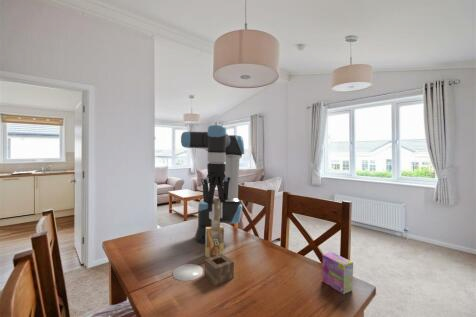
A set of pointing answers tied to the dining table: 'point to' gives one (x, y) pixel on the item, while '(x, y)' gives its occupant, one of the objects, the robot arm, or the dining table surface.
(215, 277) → the pen pot
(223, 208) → the robot arm
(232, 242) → the dining table surface
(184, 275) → the white plate
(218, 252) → the candy box
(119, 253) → the dining table surface
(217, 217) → the dowel
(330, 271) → the box
